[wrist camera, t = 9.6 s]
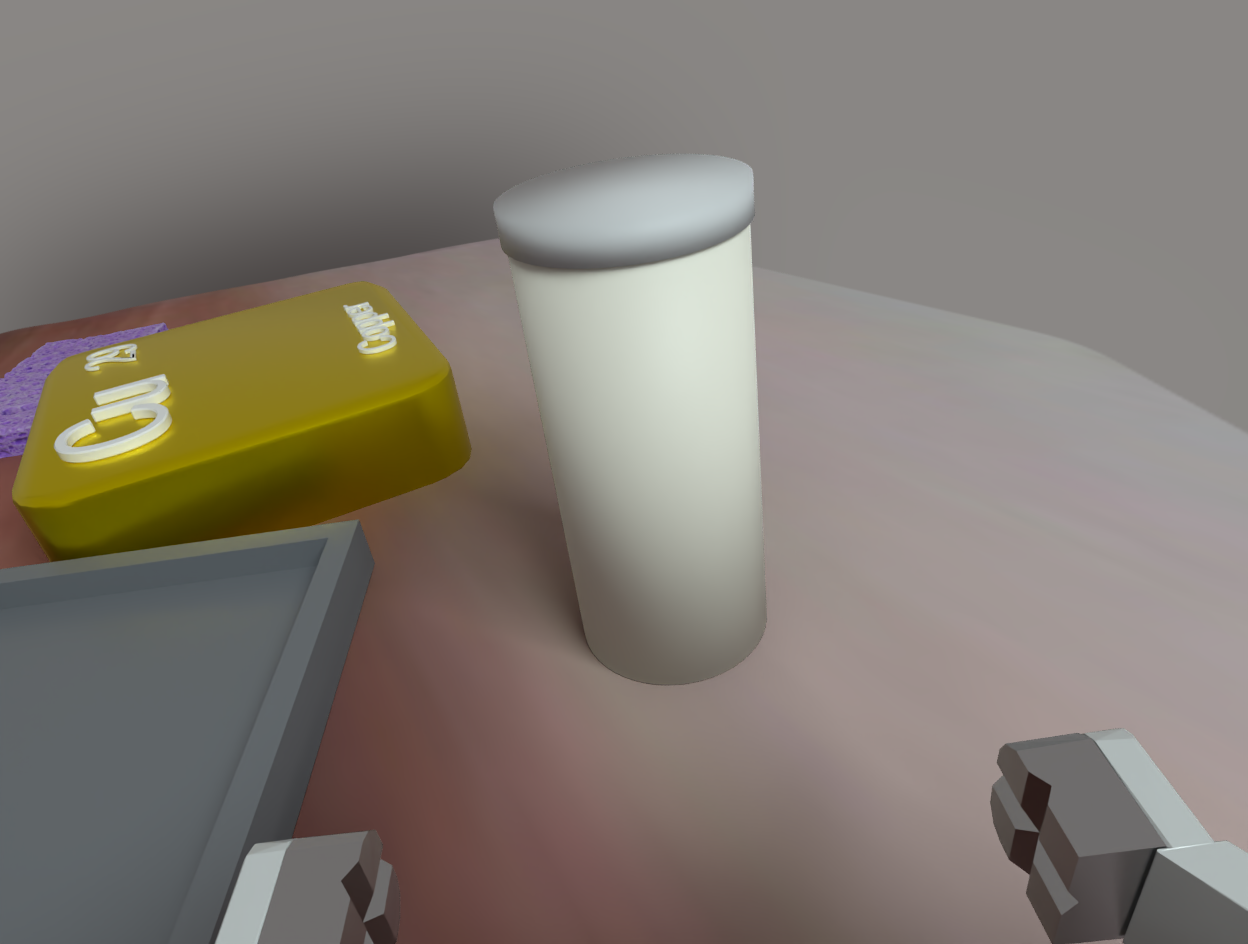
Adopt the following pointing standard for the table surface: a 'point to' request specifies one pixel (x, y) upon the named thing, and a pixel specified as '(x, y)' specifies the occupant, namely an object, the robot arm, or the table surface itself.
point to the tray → (163, 725)
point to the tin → (648, 401)
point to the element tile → (239, 426)
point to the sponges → (11, 402)
